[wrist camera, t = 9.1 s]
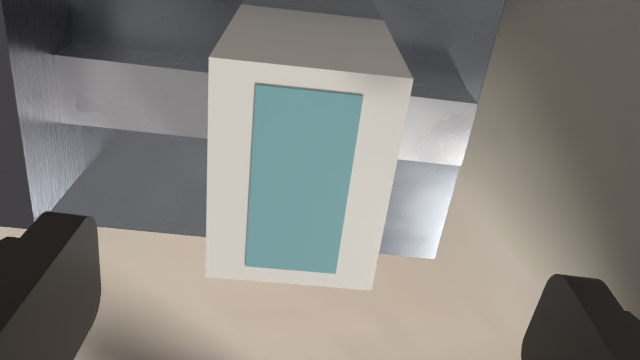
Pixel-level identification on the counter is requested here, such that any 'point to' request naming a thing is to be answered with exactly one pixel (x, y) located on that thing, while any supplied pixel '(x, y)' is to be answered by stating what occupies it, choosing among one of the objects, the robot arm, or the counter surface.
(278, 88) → the block
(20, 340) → the robot arm
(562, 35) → the counter surface
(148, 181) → the rail plate
